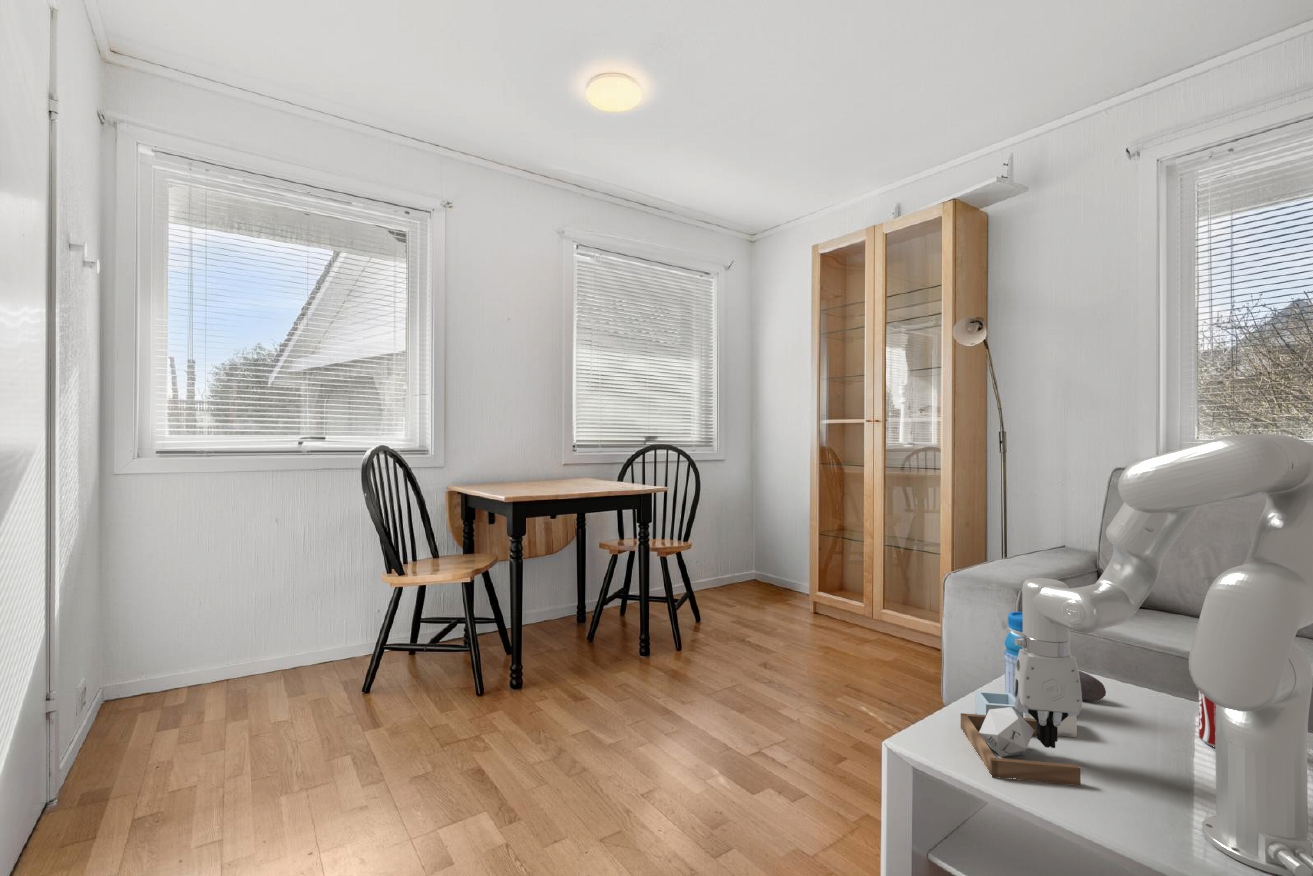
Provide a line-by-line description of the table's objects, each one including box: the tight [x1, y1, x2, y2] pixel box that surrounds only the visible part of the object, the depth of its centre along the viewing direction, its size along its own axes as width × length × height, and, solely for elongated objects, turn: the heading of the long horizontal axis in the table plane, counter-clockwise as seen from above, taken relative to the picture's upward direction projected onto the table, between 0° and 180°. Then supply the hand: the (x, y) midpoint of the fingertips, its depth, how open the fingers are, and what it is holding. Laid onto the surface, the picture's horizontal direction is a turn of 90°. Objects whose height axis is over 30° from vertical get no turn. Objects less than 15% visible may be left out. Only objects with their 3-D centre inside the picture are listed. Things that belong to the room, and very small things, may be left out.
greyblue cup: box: [974, 690, 1024, 718], centre depth 129 cm, size 7×7×5 cm
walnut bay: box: [960, 712, 1082, 787], centre depth 117 cm, size 19×14×3 cm
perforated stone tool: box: [1078, 669, 1107, 702], centre depth 143 cm, size 15×5×7 cm, turn 50°
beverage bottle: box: [1003, 611, 1023, 699], centre depth 138 cm, size 8×8×20 cm
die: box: [978, 707, 1034, 758], centre depth 117 cm, size 8×9×10 cm
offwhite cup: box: [1023, 711, 1078, 738], centre depth 127 cm, size 7×7×5 cm
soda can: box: [1198, 690, 1217, 748], centre depth 120 cm, size 7×7×12 cm
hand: (1046, 744), depth 115 cm, fingers closed
